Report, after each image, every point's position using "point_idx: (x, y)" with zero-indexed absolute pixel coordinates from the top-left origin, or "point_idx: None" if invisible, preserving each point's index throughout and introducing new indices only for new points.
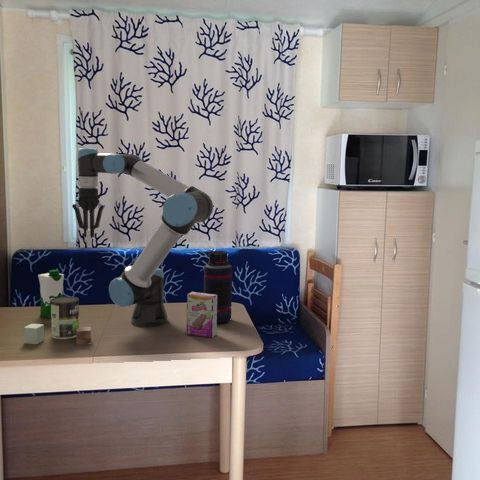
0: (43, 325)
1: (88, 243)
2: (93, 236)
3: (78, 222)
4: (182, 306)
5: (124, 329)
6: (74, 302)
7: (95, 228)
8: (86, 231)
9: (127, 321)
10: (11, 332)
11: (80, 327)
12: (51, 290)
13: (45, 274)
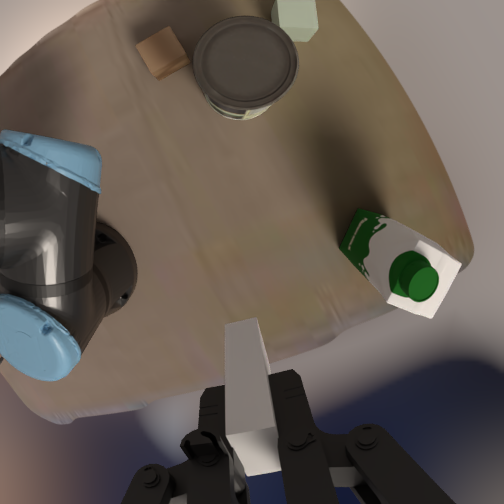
0: (279, 26)
1: (241, 333)
2: (203, 400)
3: (414, 473)
4: (101, 391)
5: (115, 184)
6: (195, 48)
7: (169, 469)
8: (269, 411)
9: (143, 251)
10: (382, 78)
11: (175, 55)
12: (390, 233)
13: (444, 278)
